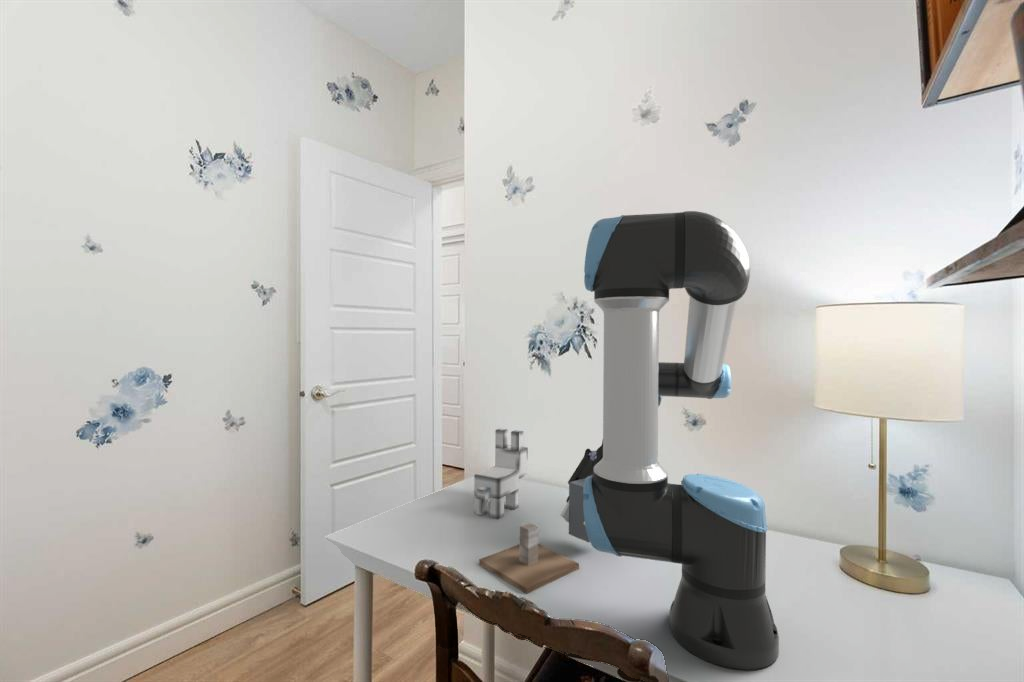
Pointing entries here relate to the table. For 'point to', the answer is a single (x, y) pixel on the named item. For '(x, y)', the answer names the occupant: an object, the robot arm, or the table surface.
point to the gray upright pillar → (577, 510)
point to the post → (528, 562)
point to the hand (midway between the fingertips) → (576, 523)
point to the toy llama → (502, 475)
